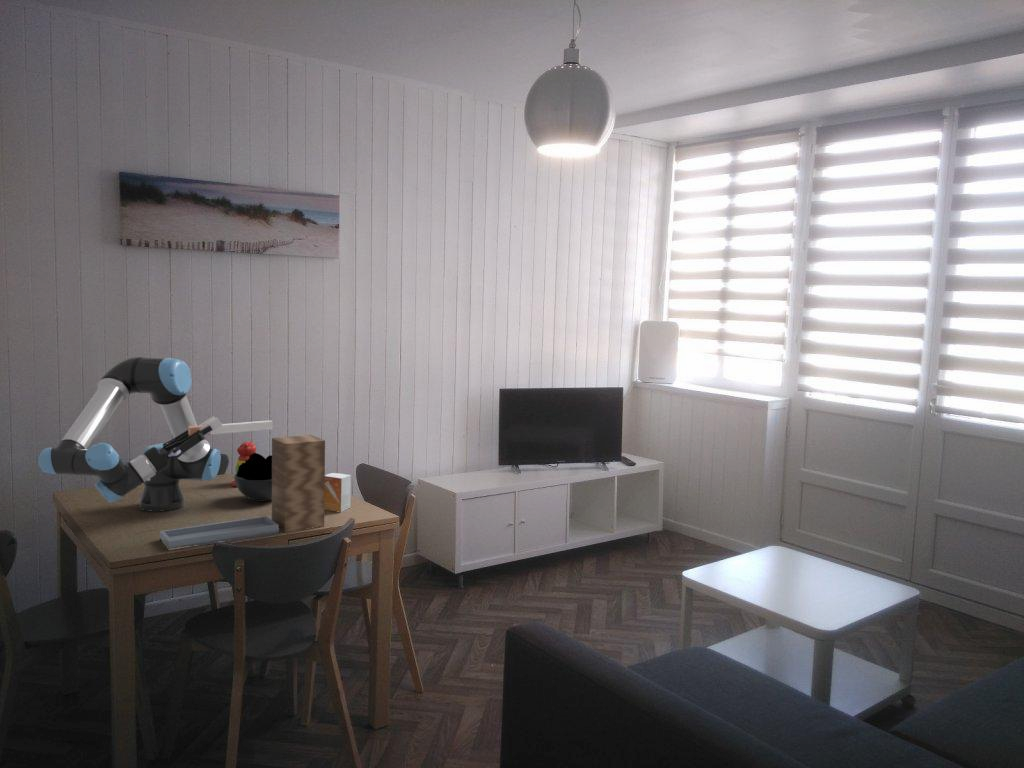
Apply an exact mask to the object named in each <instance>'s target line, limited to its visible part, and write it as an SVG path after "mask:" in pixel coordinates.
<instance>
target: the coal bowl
mask: <svg viewBox="0 0 1024 768" xmlns="http://www.w3.org/2000/svg"><path fill="white" fill-rule="evenodd" d="M233 477H234V481H235V483H236V485H237V487H236V488H237V489H238V490H239V492H240V493H241V494H242V495H243V496H245V497H246V498H248V499H250V500H252V501H257V502H266V501H269V500H272V454H271V455H270V454H269V455H268V456H266V457H265V456H263V455H262V454H259V453H256V452H255V453H253V454H252V455H250V457H249V459H248V460H246V461H245V463H242V464H241V465H240V466H239V469H238V472H237V474H236V473H235V474H234V476H233Z"/></svg>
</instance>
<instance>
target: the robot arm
mask: <svg viewBox="0 0 1024 768" xmlns="http://www.w3.org/2000/svg"><path fill="white" fill-rule="evenodd" d="M192 383H193V381H192V373H191V370H190V367H189V366H188V365H187V363H186V362H185V361H184V360H182V359H178V358H173V357H166V358H165V357H164V358H161V357H142V356H140V357H139V356H137V357H136V356H134V357H130V358H126V359H124V360H122V361H120V362H119V363H117V364H115V365H114V366H113V367H112V368H110V369H109V370H108V371H107V372H106V373H105V374H104V375H103V376H102V377H101V379H100V380H99V381H98V382H97V390H96V392H95V393H94V394H93V395H92V397H91V398H90V400H89V401H88V403H87V404H86V405H85V407H84V408H83V410H82V411H81V412H80V414H79V415H78V417H77V418H76V420H75V421H74V422H73V424H72V425H71V426H70V427H69V429H68V431H67V432H66V434H65V435H63V437H62V439H61V440H60V441H59V443H58V445H57V446H56V447H55V446H51V447H46V448H44V449H43V450H42V451H41V452H40V454H39V457H38V466H39V468H40V470H41V471H42V472H43V473H46V474H51V475H52V474H53V475H70V476H71V475H74V476H76V475H77V476H90V477H92V476H93V477H97V478H98V479H99V480H98V481H97V482H96V483H95V484H94V485H95V488H96V489H97V490H98V491H99V493H100V494H101V495H102V497H103V498H104V499H105V500H106V502H108V503H113V502H115V501H118V500H119V499H121V498H124V496H125V495H127V494H129V493H130V492H132V491H133V490H134V489H136V488H138V487H140V486H141V485H143V484H144V485H143V489H142V492H141V496H140V498H139V501H138V508H139V507H140V508H141V509H144V510H152V511H151V512H162V511H161V510H168V511H172V510H171V509H174V510H176V509H175V508H178V509H180V508H179V507H181V508H182V506H183V505H184V506H185V497H184V495H183V492H182V489H181V486H180V480H184V481H199V482H200V481H201V482H203V481H212V480H214V479H215V478H216V476H217V475H218V473H219V470H220V467H221V462H222V461H221V459H222V458H221V451H220V449H218V448H212V447H211V444H210V442H209V441H208V440H207V439H206V437H205V436H208V435H207V434H209V433H210V432H212V431H213V430H215V429H216V428H218V427H220V426H221V425H222V424H223V423H222V422H221V420H220V419H219V417H216V416H214V415H212V416H211V417H210V418H208V419H207V420H205V421H204V422H202V423H200V424H199V425H198V423H197V421H196V418H195V415H194V412H193V411H192V408H191V405H190V403H189V400H188V397H187V395H188V393H189V391H190V389H191V387H192ZM136 393H138V394H139V393H140V394H149V395H150V398H151V400H152V401H153V403H155V405H156V404H157V405H159V406H160V408H161V410H162V413H163V416H164V418H165V421H166V423H167V425H168V427H169V430H170V433H171V435H172V439H170V440H168V441H166V442H161V443H157V444H151V445H148V446H147V447H145V449H144V450H143V454H139V455H137V456H136V457H135V458H133V459H132V460H130V461H129V462H127V463H125V464H124V461H123V460H122V459H121V457H120V455H119V454H118V452H117V451H116V450H115V448H113V446H112V445H111V444H109V443H107V442H99V443H97V444H93V443H94V442H95V440H96V439H97V437H98V436H99V435H100V433H101V432H102V430H103V429H104V427H105V426H106V424H107V423H108V421H109V420H110V418H111V417H112V415H113V414H114V412H115V411H116V409H117V408H118V407H119V405H120V404H121V402H124V401H126V400H127V399H128V397H129V396H130V395H131V394H136ZM201 425H204V426H203V427H201V428H200V429H199V431H197V432H195V433H193V434H192V435H190V436H189V435H188V426H201ZM184 506H183V507H184ZM140 508H139V509H140ZM141 509H140V510H141ZM144 510H143V511H144Z"/></svg>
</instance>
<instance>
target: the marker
mask: <svg viewBox="0 0 1024 768" xmlns="http://www.w3.org/2000/svg"><path fill="white" fill-rule="evenodd" d="M273 422H274V421H273V420H271V419H269V420H268V419H267V420H260V421H259V420H258V421H245V422H233V423H221V424H222V425H221V426H220V427H218V428H216V429H215V430H213V431H212V432H210V433H209V434H207V435H206V436H209V435H222V434H233V433H245V432H256V431H258V432H259V431H266V430H267V431H268V430H274V426H273V425H274V423H273ZM203 426H204V425H201V426H199V425H197V426H188V435H189V436H190V435H192V434H193V433H195V432H197V431H199V429H200V428H201V427H203Z"/></svg>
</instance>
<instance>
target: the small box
mask: <svg viewBox="0 0 1024 768" xmlns="http://www.w3.org/2000/svg"><path fill="white" fill-rule="evenodd" d="M351 478H352V474H346V473H339V472H338V473H337V472H331V473H327V474H325V500H324V511H331V512H335V511H339V512H338V513H340V512H341V513H343V512H342V511H344V510H346V509H348V508H350V509H351V487H352V486H351V485H352V484H351V482H352V479H351ZM348 510H349V509H348ZM346 511H347V510H346ZM344 512H345V511H344Z"/></svg>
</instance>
